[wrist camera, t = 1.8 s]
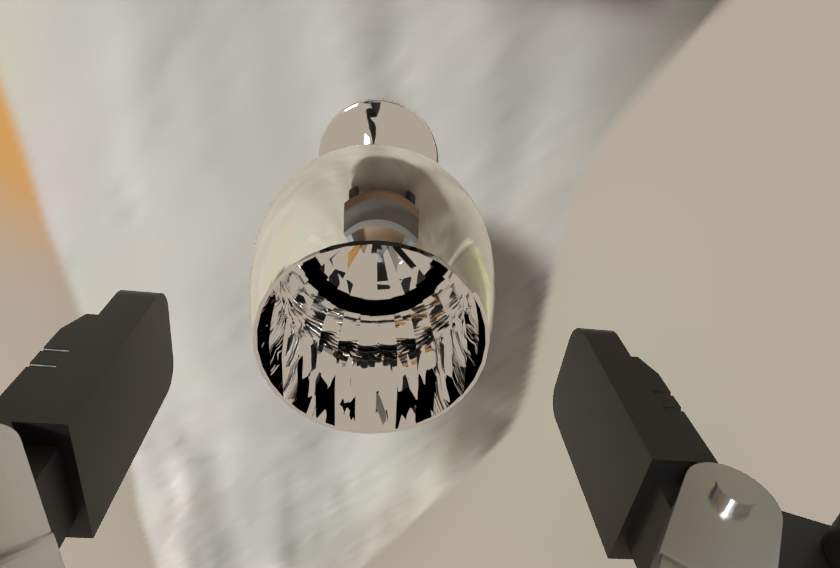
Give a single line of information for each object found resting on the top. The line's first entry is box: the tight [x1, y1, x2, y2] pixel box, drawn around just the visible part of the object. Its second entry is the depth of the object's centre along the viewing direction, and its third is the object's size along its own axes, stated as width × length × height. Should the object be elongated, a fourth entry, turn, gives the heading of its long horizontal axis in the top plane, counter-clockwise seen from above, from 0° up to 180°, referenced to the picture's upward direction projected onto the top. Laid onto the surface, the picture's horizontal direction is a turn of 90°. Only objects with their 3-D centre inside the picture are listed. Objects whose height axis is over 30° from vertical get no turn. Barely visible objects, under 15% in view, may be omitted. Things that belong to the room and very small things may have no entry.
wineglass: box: [249, 99, 495, 434], centre depth 16 cm, size 6×6×12 cm
